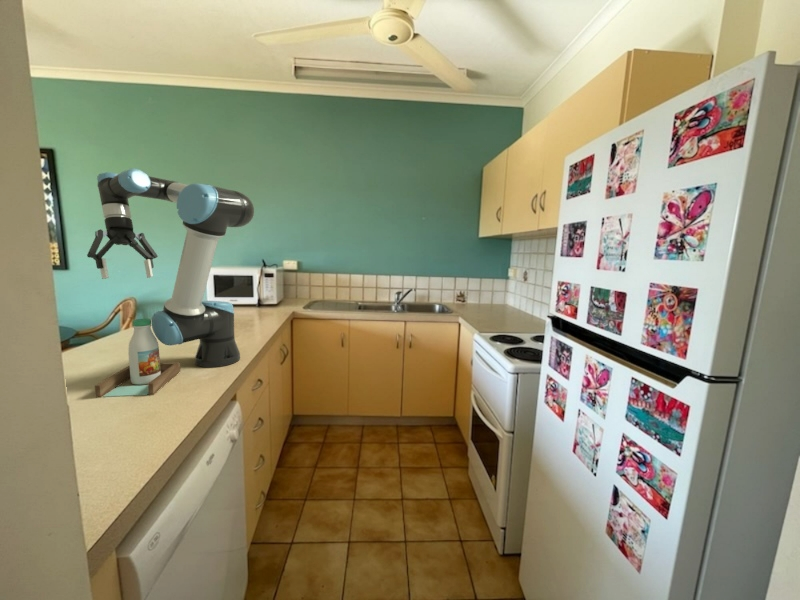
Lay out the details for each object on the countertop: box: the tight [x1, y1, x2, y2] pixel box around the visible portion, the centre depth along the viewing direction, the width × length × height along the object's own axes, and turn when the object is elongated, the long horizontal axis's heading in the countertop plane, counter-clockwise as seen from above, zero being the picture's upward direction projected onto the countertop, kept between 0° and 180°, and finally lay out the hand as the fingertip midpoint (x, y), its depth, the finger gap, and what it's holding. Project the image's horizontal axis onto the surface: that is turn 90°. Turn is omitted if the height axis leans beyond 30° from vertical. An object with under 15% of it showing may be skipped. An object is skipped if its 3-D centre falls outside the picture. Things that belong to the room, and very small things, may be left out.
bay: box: [94, 361, 181, 398], centre depth 105 cm, size 14×18×4 cm
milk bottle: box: [127, 318, 161, 386], centre depth 106 cm, size 8×8×20 cm
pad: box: [102, 384, 149, 398], centre depth 100 cm, size 11×7×1 cm, turn 102°
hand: (128, 277), depth 119 cm, fingers open, 13 cm apart
